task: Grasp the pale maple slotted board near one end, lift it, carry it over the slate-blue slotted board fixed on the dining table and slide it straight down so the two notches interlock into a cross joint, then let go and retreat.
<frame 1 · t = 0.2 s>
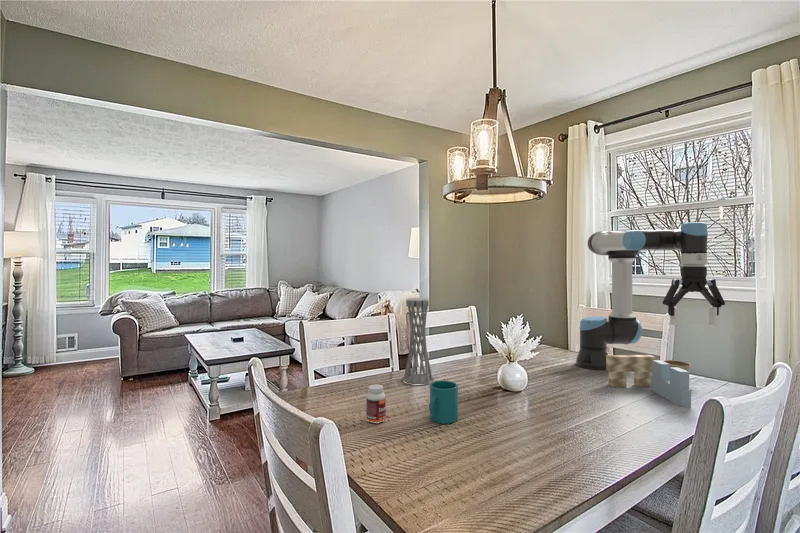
hand: (693, 325, 144), 28 cm above the table, fingers open, 13 cm apart
pill bottle: (376, 421, 129), on the table
slate board: (669, 398, 148), on the table
maple board: (630, 385, 163), on the table
vase: (418, 381, 171), on the table
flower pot: (676, 384, 165), on the table
cup: (441, 421, 129), on the table
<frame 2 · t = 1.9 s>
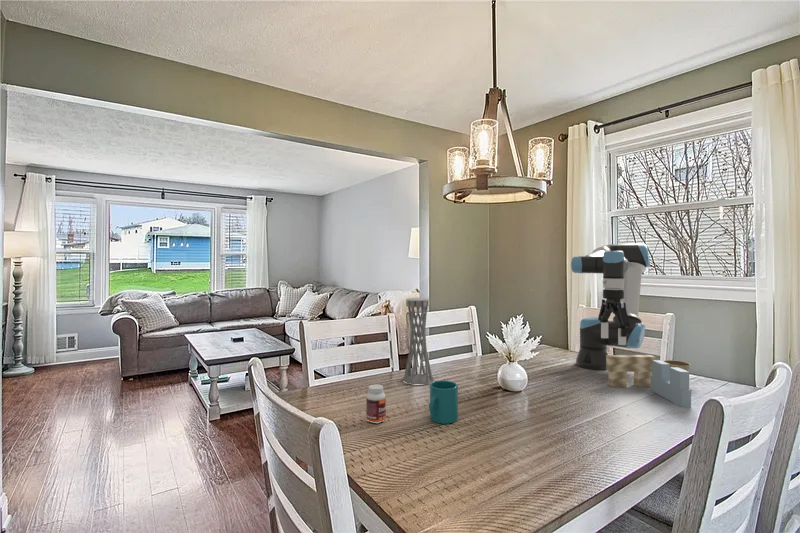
hand: (613, 341, 163), 18 cm above the table, fingers open, 13 cm apart
nothing on the table moved.
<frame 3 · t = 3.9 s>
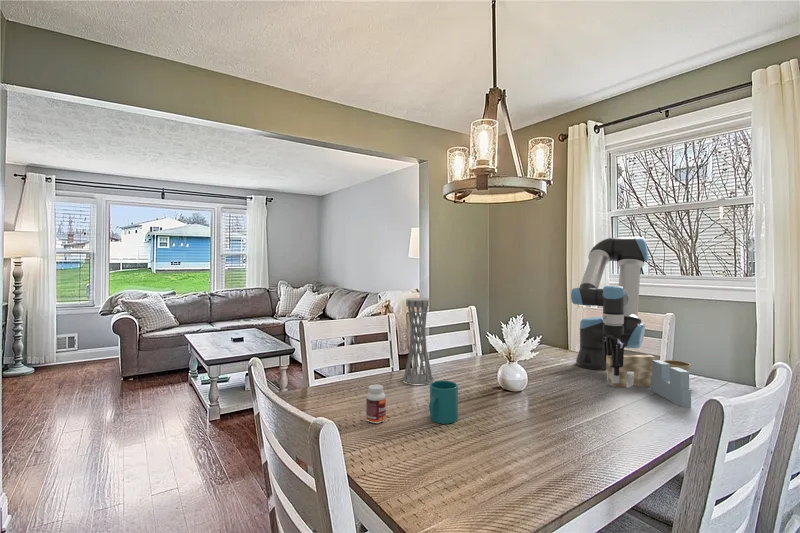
hand: (613, 381, 163), 2 cm above the table, fingers closed on maple board, 3 cm apart
maple board: (630, 385, 163), on the table, touching gripper
everything else where it was.
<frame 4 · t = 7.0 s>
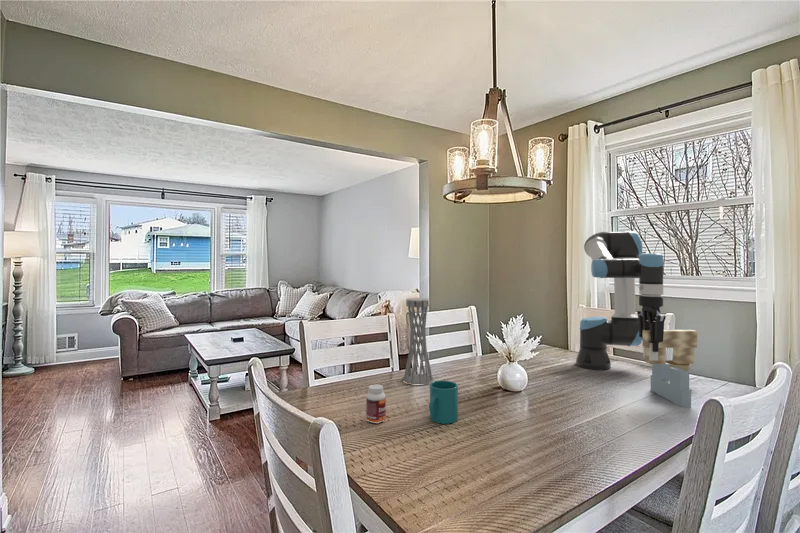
hand: (650, 358, 148), 15 cm above the table, fingers closed on maple board, 3 cm apart
maple board: (669, 363, 148), point 13 cm above the table, touching gripper
everything else where it was.
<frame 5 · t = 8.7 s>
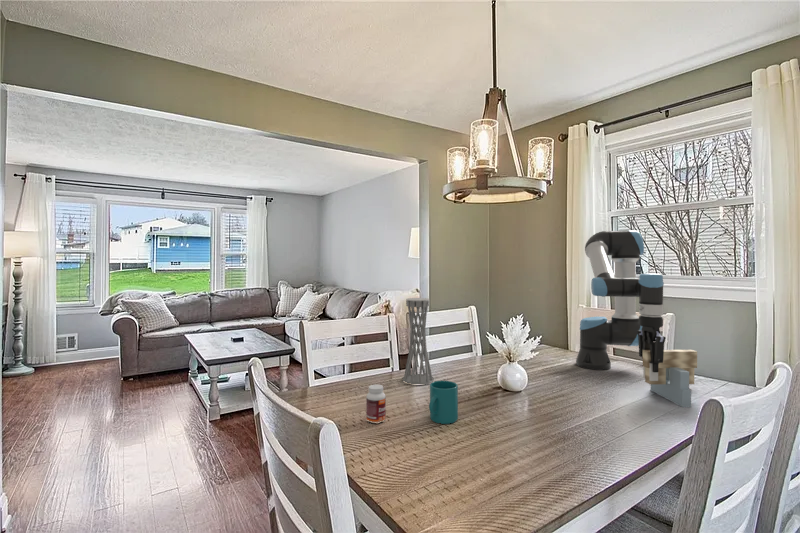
hand: (650, 378, 148), 7 cm above the table, fingers closed on maple board, 3 cm apart
maple board: (669, 383, 148), point 6 cm above the table, touching gripper
everything else where it was.
when the fingers open (3 cm above the table, at t = 10.0 s): maple board stays where it is, resting on slate board.
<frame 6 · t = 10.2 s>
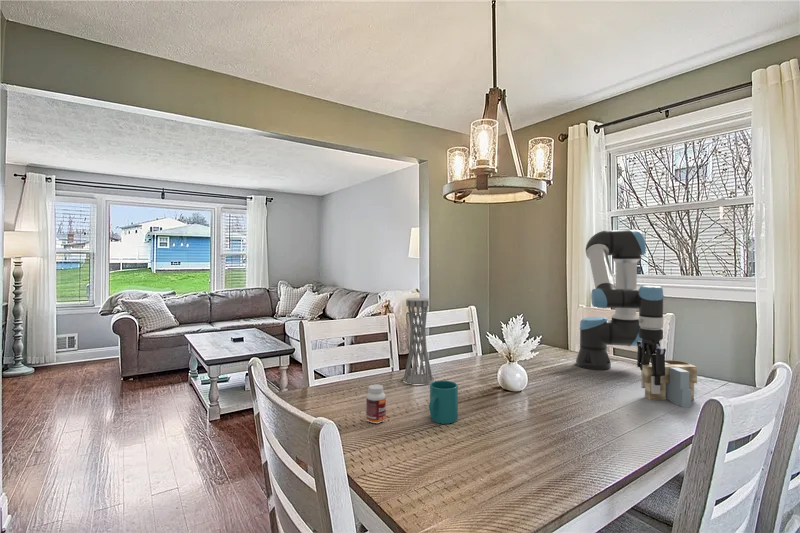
hand: (650, 390, 148), 3 cm above the table, fingers open, 5 cm apart
maple board: (669, 398, 148), resting on slate board
everything else where it was.
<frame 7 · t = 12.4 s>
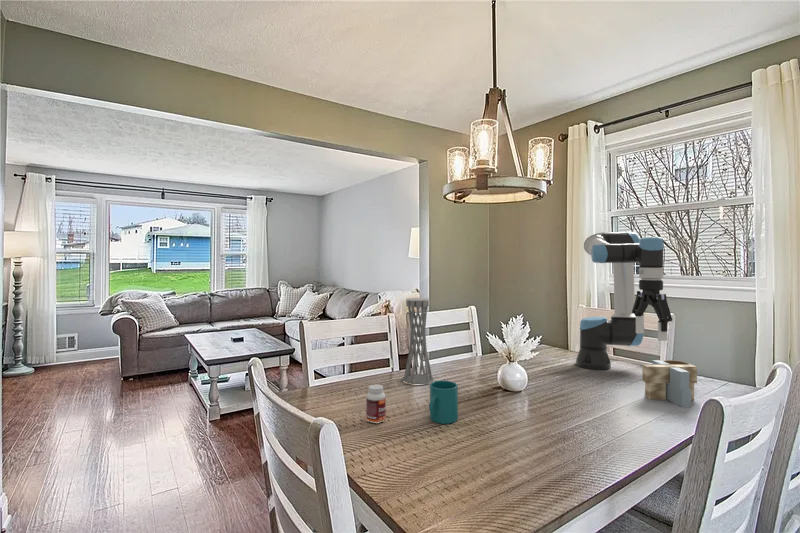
hand: (650, 336, 148), 23 cm above the table, fingers open, 13 cm apart
nothing on the table moved.
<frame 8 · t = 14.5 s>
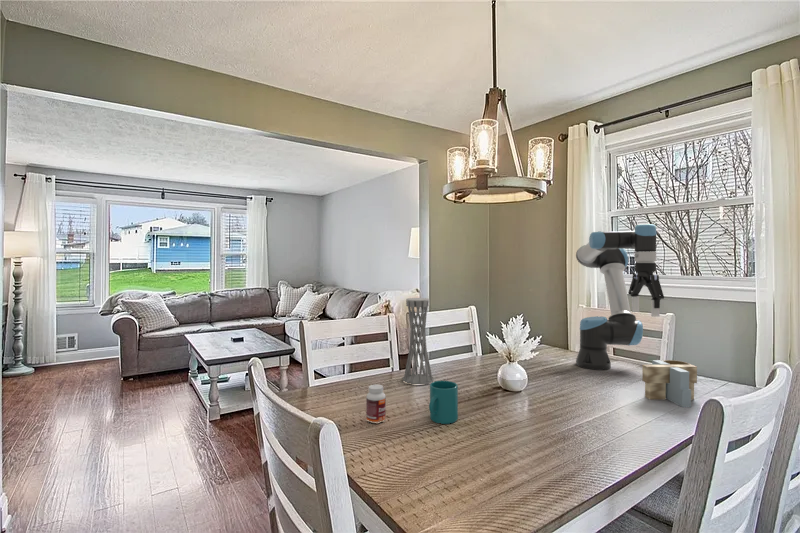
hand: (645, 314, 164), 29 cm above the table, fingers open, 13 cm apart
nothing on the table moved.
at the end: maple board 0.1 cm off-centre on the slate board, point 0.0 cm above the slate board's base; maple board tilted 0°; the gripper is holding nothing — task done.
